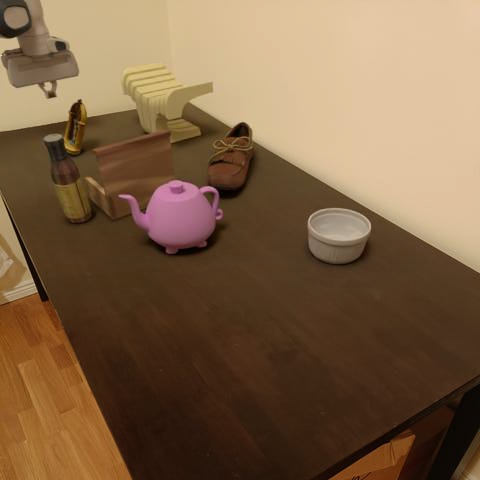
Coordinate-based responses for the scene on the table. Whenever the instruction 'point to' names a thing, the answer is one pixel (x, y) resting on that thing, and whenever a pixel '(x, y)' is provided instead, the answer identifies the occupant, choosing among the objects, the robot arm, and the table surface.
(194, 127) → the slatted curved stool
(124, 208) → the wooden holder
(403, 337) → the table surface
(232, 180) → the moccasin
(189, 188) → the teapot
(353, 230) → the ramekin
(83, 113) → the shrine
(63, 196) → the sauce bottle
